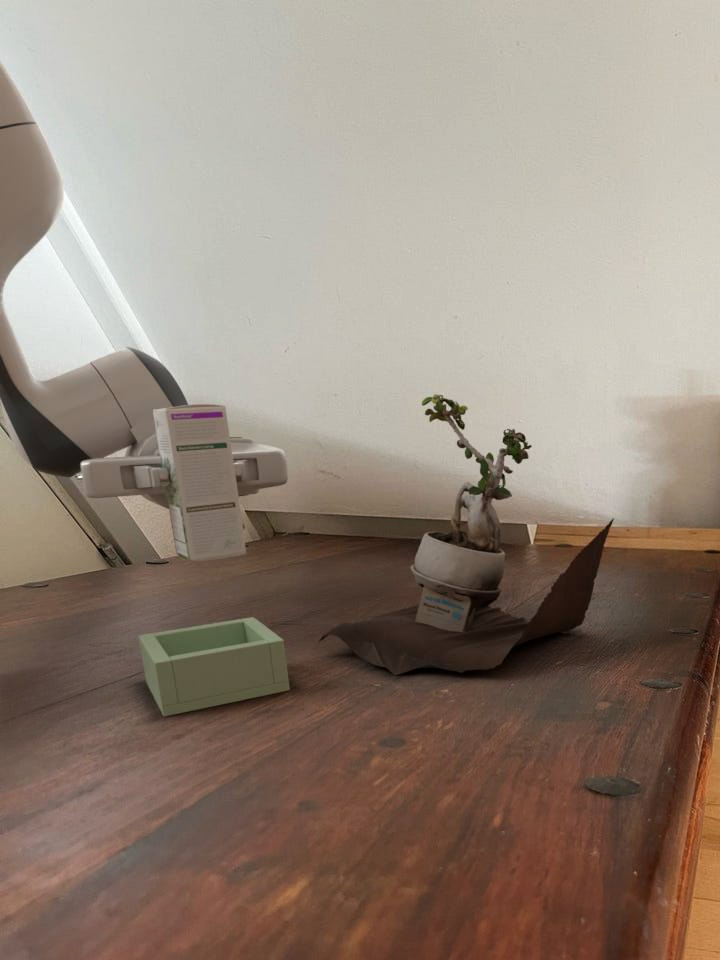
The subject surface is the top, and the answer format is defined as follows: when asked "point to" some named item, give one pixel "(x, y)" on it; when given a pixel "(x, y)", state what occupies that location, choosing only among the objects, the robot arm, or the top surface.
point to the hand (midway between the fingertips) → (201, 475)
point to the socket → (213, 664)
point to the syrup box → (200, 481)
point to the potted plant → (470, 582)
